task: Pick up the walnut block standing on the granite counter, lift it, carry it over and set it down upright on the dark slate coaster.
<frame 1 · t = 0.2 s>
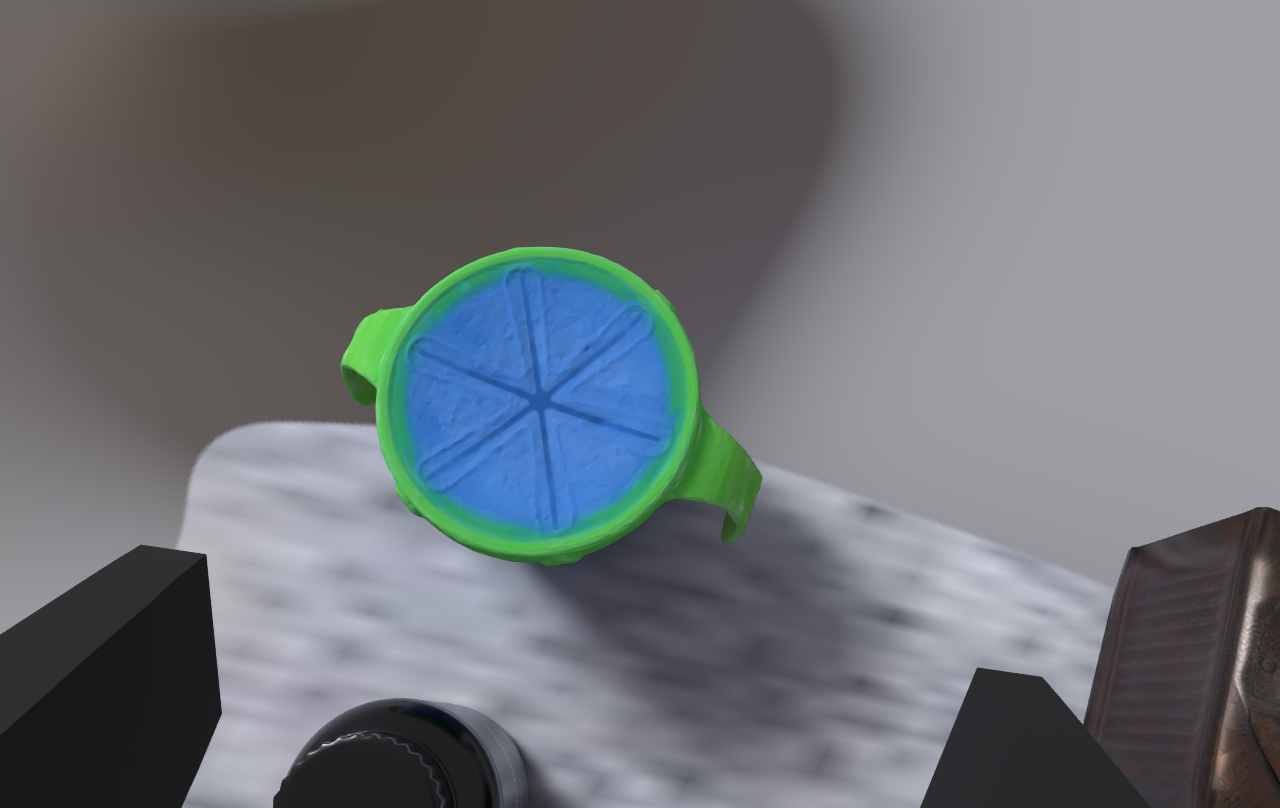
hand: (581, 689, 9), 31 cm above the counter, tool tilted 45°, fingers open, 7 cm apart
supplement bottle: (442, 795, 38), on the counter
snack cup: (562, 467, 42), on the counter
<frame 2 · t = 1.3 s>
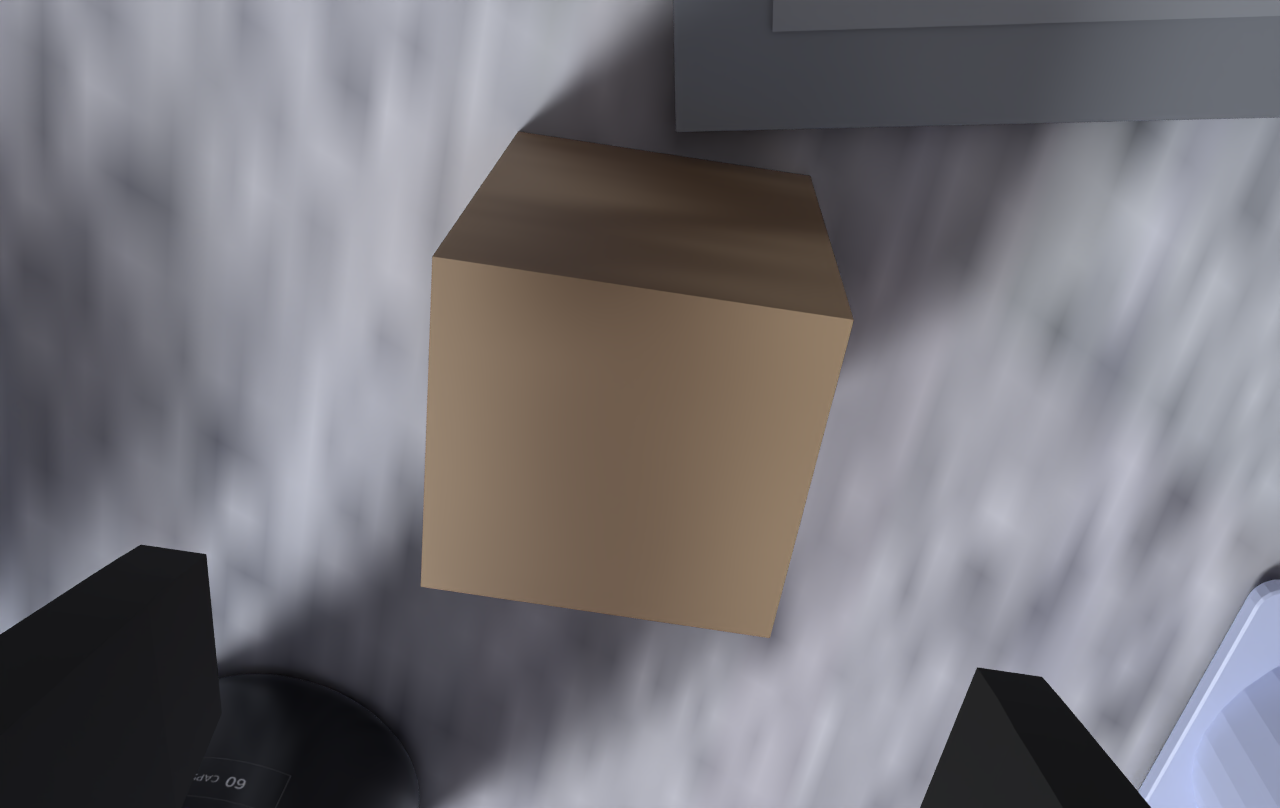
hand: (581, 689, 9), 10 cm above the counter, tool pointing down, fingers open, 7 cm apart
supplement bottle: (292, 757, 25), on the counter
block: (644, 288, 18), on the counter
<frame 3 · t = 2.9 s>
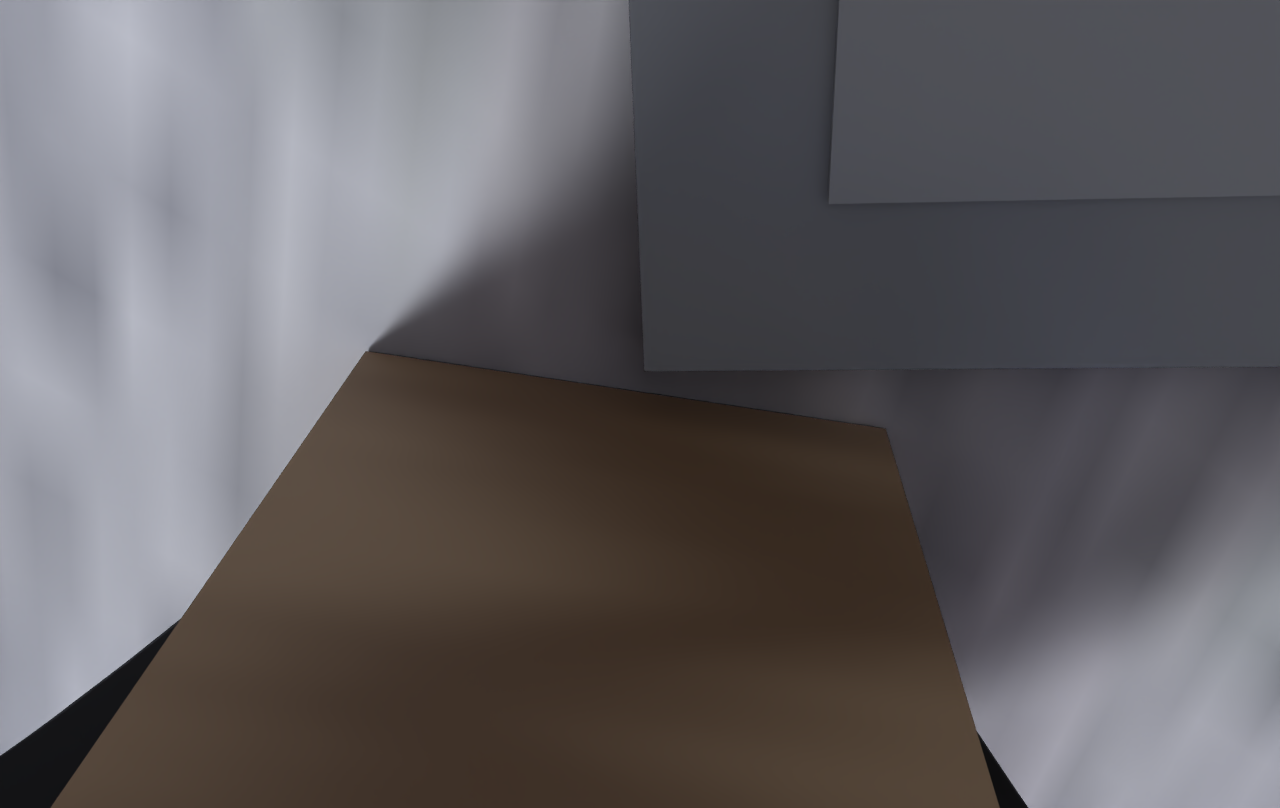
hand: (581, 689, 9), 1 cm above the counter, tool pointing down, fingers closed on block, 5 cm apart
block: (596, 592, 11), on the counter, touching gripper
when the fingers open (3 cm above the counter, at t = 7.6 s): block stays where it is, resting on coaster.
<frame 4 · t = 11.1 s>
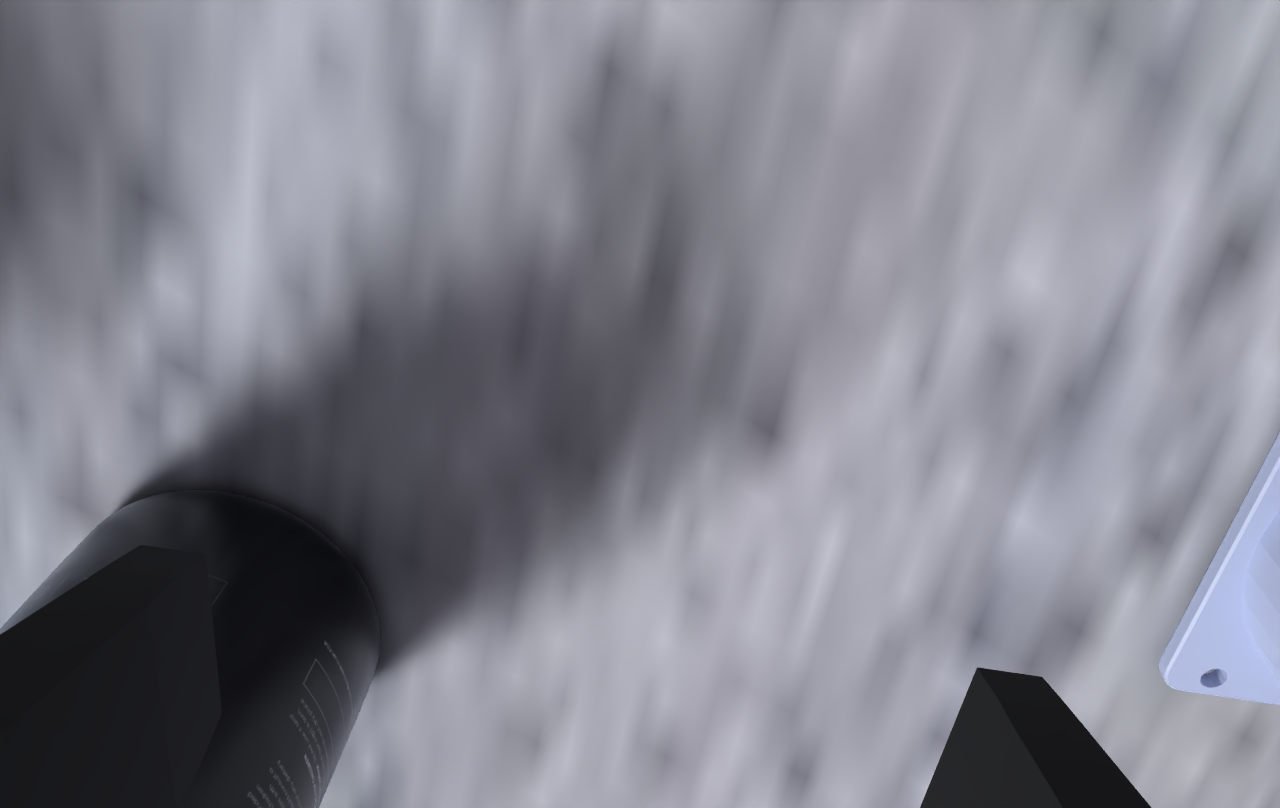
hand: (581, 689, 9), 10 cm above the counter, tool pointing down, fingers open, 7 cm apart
supplement bottle: (240, 598, 23), on the counter
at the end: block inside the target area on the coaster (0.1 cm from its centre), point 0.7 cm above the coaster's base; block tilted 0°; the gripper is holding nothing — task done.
